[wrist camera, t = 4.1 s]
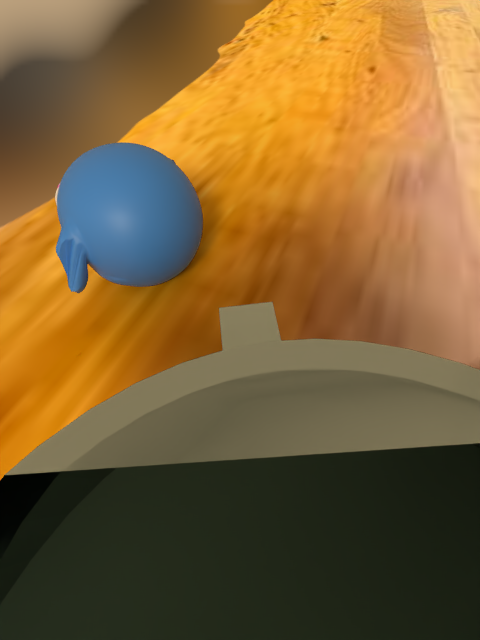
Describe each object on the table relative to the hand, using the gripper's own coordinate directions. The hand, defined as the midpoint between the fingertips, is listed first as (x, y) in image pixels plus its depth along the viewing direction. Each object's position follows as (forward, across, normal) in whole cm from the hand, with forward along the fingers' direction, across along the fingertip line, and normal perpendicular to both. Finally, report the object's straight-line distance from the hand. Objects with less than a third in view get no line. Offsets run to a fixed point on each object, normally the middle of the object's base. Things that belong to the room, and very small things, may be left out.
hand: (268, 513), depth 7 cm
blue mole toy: (+17, +7, -7) cm, 20 cm away
